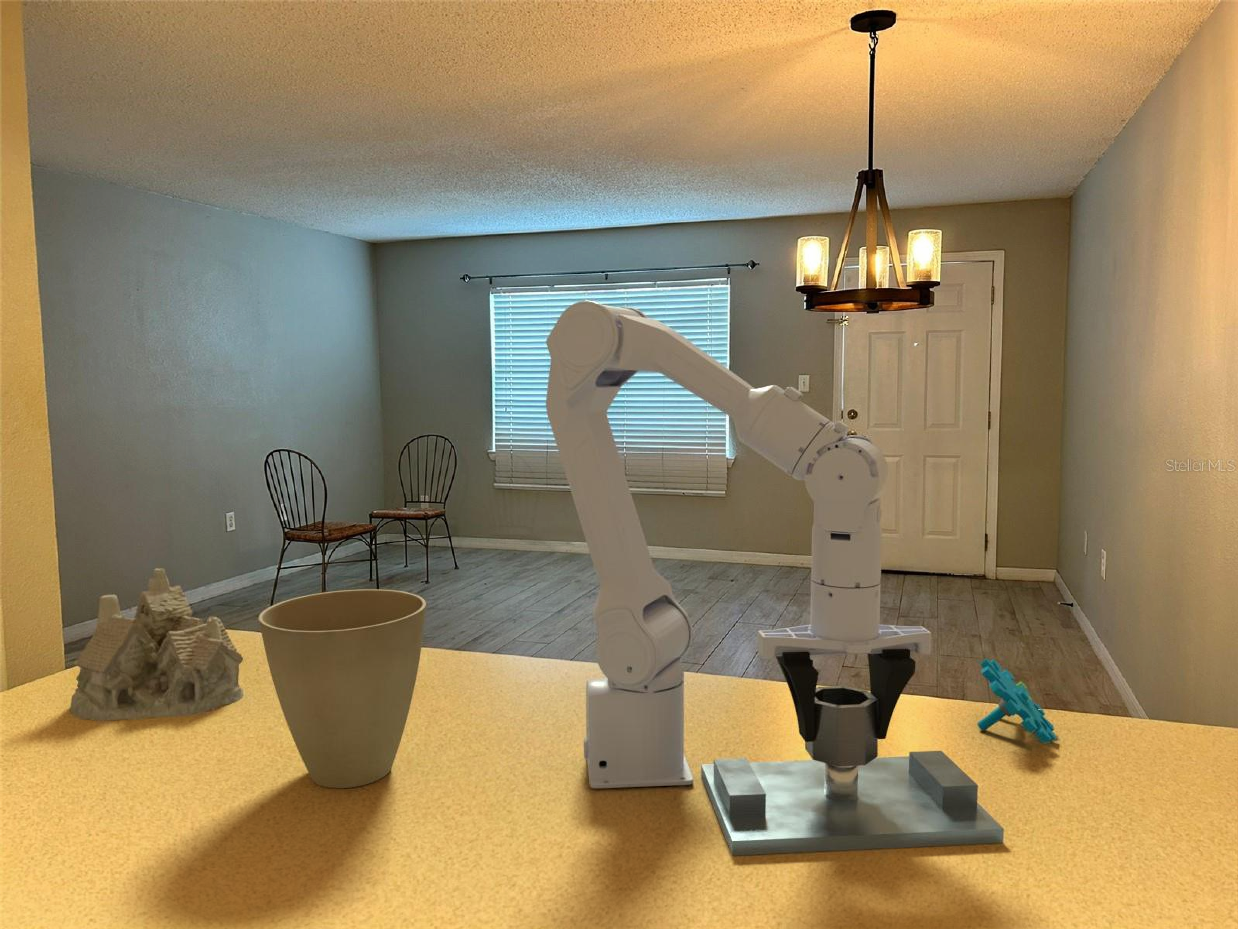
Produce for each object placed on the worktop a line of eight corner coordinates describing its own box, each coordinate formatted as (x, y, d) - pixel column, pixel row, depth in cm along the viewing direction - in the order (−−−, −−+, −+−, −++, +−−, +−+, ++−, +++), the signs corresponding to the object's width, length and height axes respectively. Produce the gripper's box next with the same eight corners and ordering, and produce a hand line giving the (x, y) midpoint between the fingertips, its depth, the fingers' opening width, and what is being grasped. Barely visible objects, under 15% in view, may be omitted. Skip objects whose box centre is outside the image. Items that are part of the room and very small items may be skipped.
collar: (818, 767, 75) (818, 709, 75) (800, 742, 81) (799, 687, 81) (884, 764, 76) (884, 706, 75) (862, 739, 81) (861, 684, 81)
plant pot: (345, 731, 96) (340, 583, 94) (461, 756, 89) (457, 598, 88) (229, 789, 82) (221, 617, 81) (355, 824, 76) (349, 638, 74)
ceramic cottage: (55, 703, 104) (55, 575, 102) (198, 673, 116) (200, 558, 115) (110, 747, 94) (112, 606, 92) (260, 709, 106) (264, 584, 105)
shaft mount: (732, 855, 71) (732, 786, 70) (701, 776, 85) (701, 718, 84) (1003, 843, 72) (1005, 775, 72) (929, 767, 86) (931, 711, 86)
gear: (1057, 746, 87) (983, 661, 91) (1007, 780, 89) (937, 695, 93) (1066, 724, 97) (999, 647, 101) (1021, 755, 99) (958, 679, 103)
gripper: (773, 594, 72) (770, 758, 73) (949, 590, 73) (943, 752, 74) (752, 574, 79) (751, 725, 80) (914, 571, 80) (909, 719, 81)
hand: (842, 736), depth 78 cm, fingers closed on collar, 6 cm apart
